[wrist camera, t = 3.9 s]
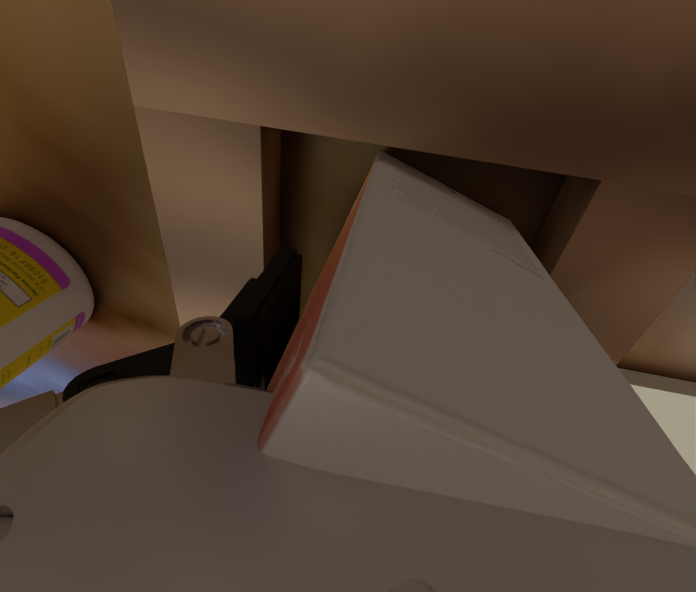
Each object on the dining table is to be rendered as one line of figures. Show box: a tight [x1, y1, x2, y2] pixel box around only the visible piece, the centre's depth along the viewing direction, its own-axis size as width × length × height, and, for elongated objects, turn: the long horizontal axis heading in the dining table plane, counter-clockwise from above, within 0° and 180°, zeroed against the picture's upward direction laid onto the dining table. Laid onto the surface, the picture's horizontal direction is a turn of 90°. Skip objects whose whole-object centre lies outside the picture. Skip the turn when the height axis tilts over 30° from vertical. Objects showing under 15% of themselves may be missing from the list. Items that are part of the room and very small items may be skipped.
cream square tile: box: [618, 368, 696, 475], centre depth 18 cm, size 12×12×1 cm
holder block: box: [111, 0, 696, 365], centre depth 13 cm, size 18×18×2 cm
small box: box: [257, 151, 696, 547], centre depth 10 cm, size 8×6×10 cm
